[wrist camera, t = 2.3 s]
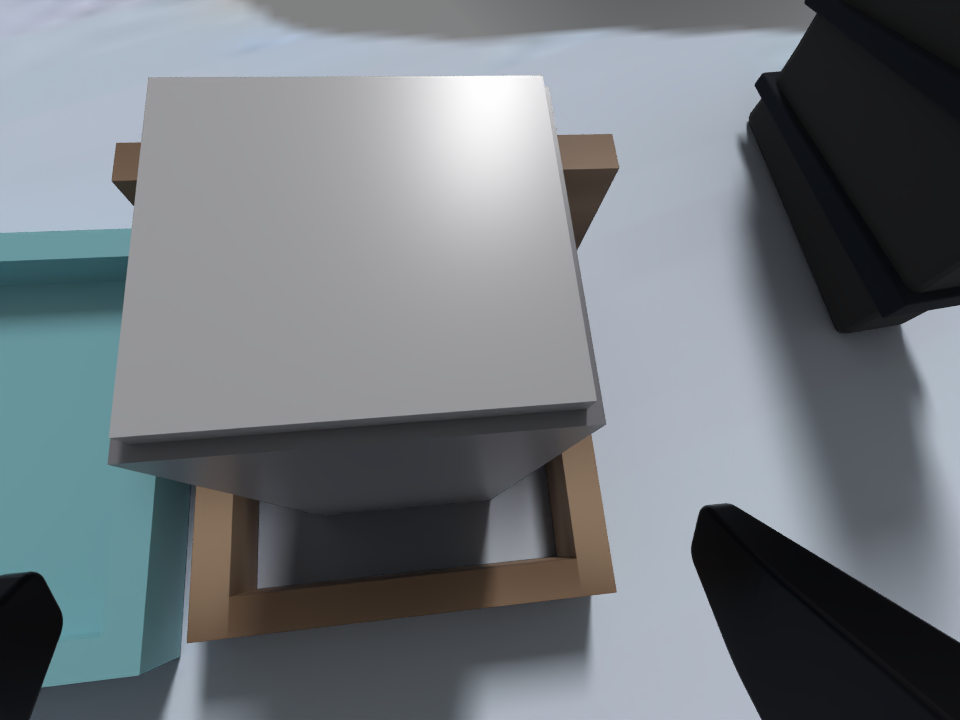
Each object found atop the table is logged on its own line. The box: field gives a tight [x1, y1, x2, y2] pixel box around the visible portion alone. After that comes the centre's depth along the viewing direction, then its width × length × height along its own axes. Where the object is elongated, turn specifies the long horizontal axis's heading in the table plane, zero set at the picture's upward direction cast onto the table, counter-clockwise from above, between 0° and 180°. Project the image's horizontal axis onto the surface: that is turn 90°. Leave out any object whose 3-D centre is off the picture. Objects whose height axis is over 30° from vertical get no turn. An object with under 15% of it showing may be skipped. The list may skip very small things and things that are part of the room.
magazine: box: [749, 0, 960, 333], centre depth 18 cm, size 4×13×15 cm, turn 11°
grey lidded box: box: [107, 76, 606, 516], centre depth 13 cm, size 5×6×13 cm
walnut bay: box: [112, 134, 619, 643], centre depth 15 cm, size 11×12×8 cm
